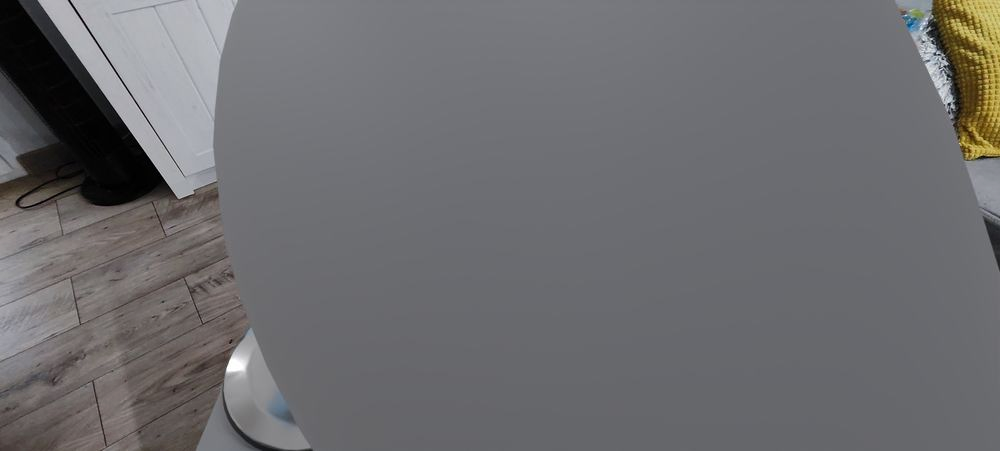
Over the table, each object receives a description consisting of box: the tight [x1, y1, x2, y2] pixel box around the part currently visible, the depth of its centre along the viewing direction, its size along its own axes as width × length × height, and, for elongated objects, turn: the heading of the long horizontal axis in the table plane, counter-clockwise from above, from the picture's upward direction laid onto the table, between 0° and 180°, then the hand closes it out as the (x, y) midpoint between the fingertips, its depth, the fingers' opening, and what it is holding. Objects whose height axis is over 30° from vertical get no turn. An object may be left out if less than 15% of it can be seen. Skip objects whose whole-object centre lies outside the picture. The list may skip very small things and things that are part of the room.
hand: (541, 243), depth 60 cm, fingers open, 13 cm apart
